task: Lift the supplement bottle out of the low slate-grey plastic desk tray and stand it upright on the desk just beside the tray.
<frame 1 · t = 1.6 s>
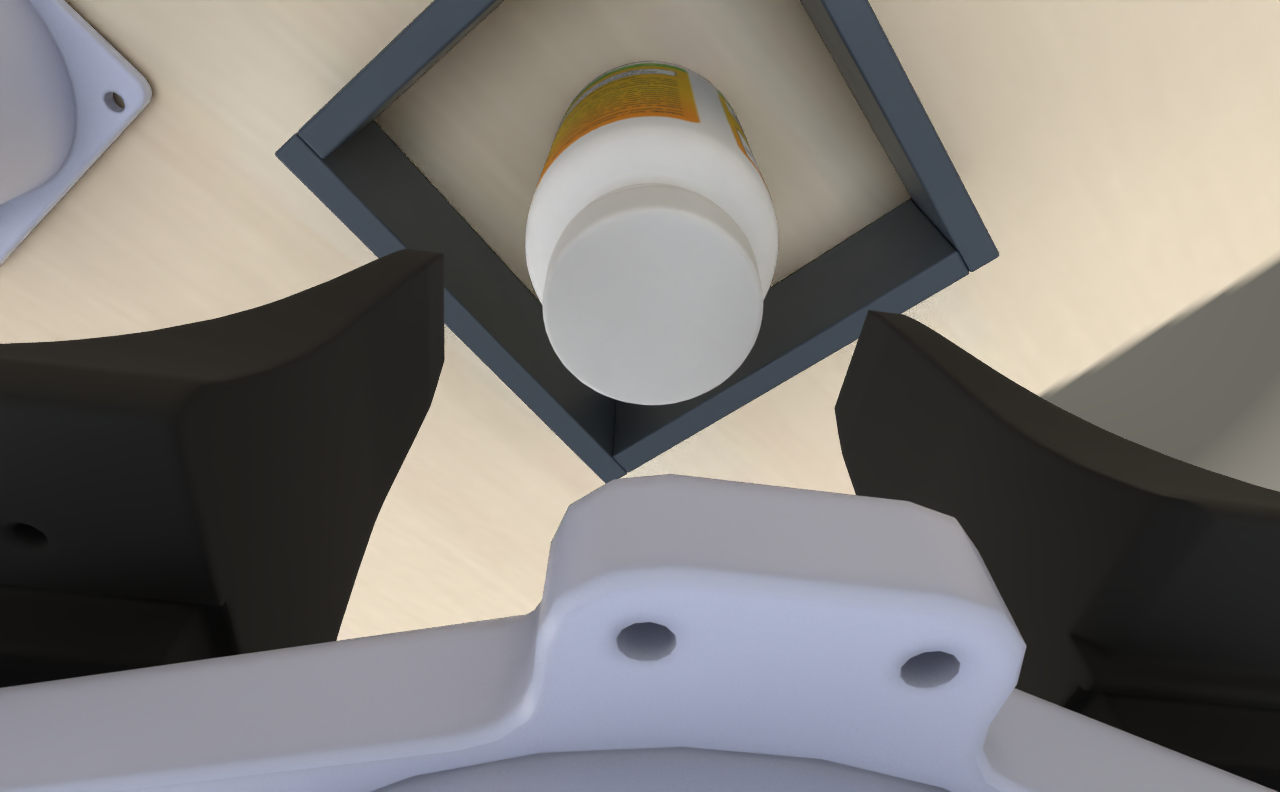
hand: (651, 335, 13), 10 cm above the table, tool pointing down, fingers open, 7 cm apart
tray: (649, 159, 21), on the table
supplement bottle: (649, 157, 22), resting in tray
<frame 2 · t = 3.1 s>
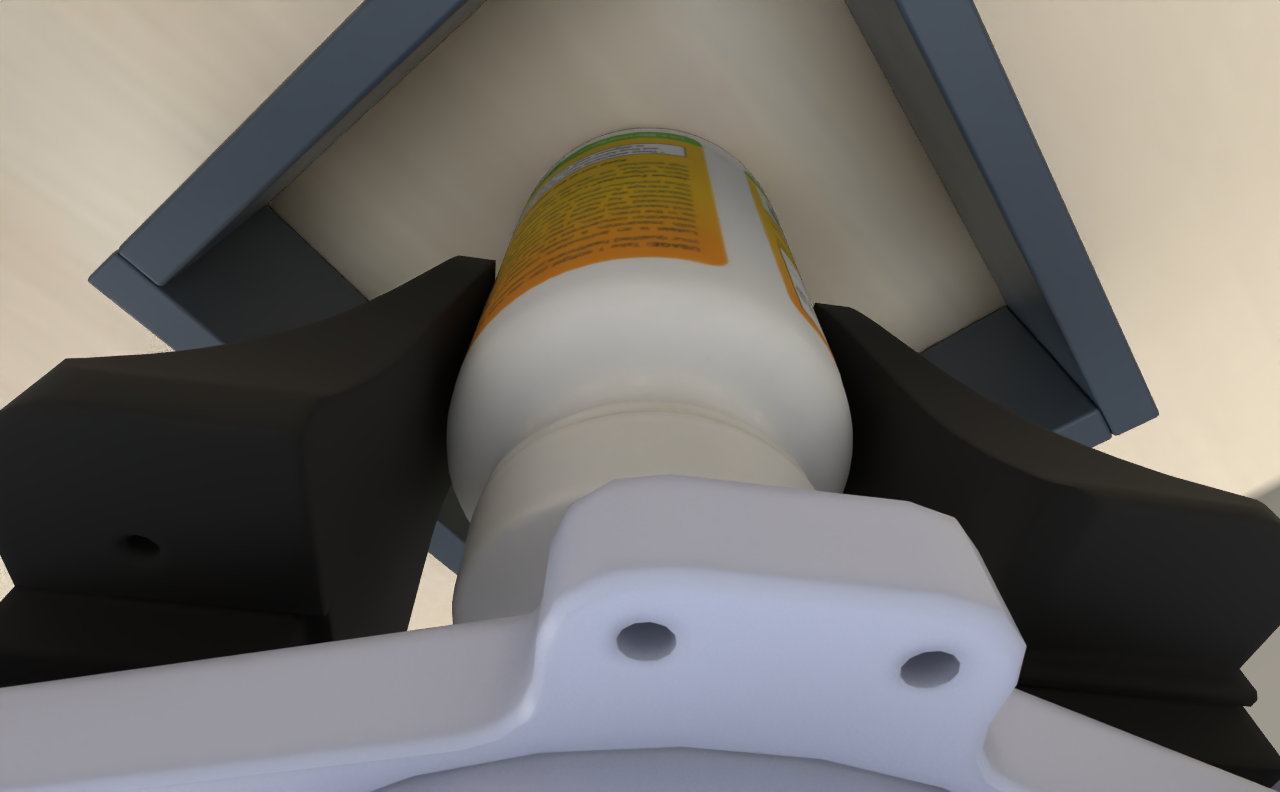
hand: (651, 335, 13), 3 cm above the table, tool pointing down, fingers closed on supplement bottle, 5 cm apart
tray: (650, 255, 16), on the table
supplement bottle: (647, 251, 16), resting in tray, touching gripper
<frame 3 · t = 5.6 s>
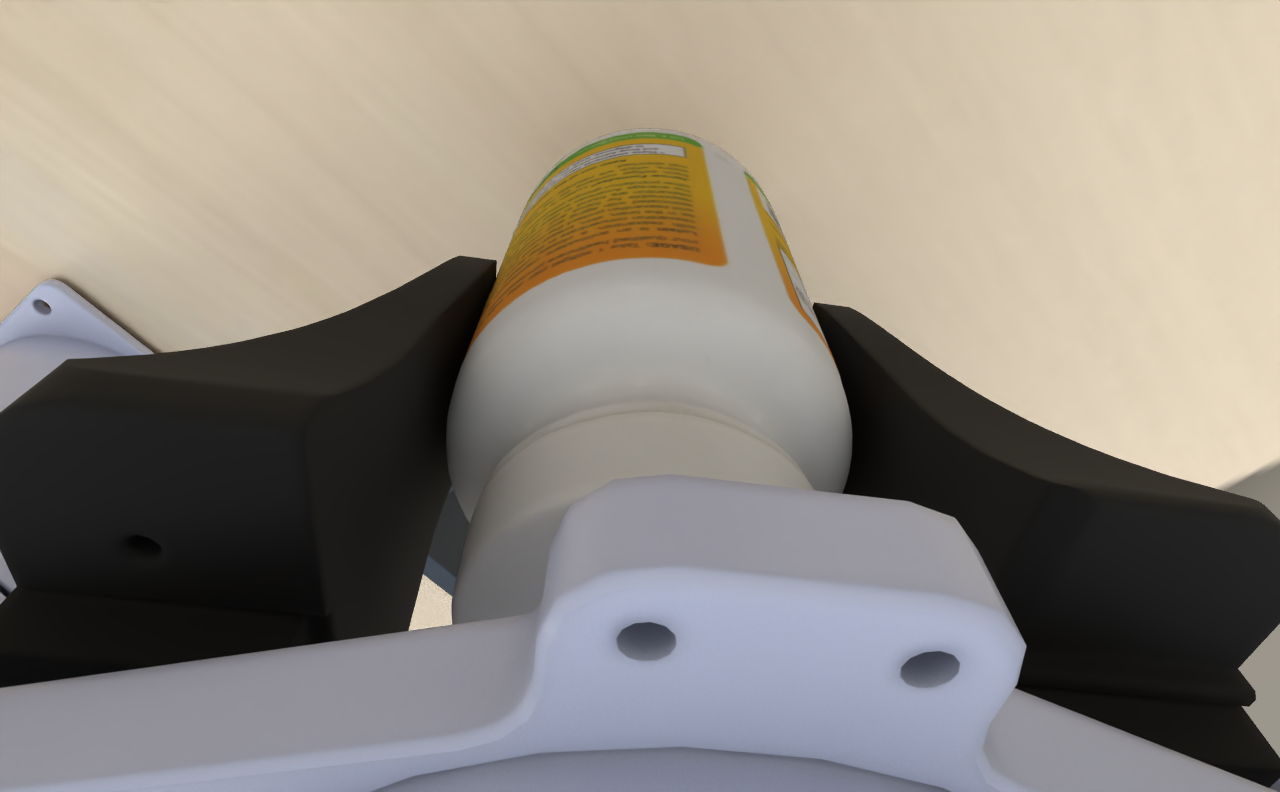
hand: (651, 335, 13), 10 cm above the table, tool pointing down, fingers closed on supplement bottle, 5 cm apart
tray: (637, 476, 28), on the table
supplement bottle: (647, 252, 16), point 7 cm above the table, touching gripper
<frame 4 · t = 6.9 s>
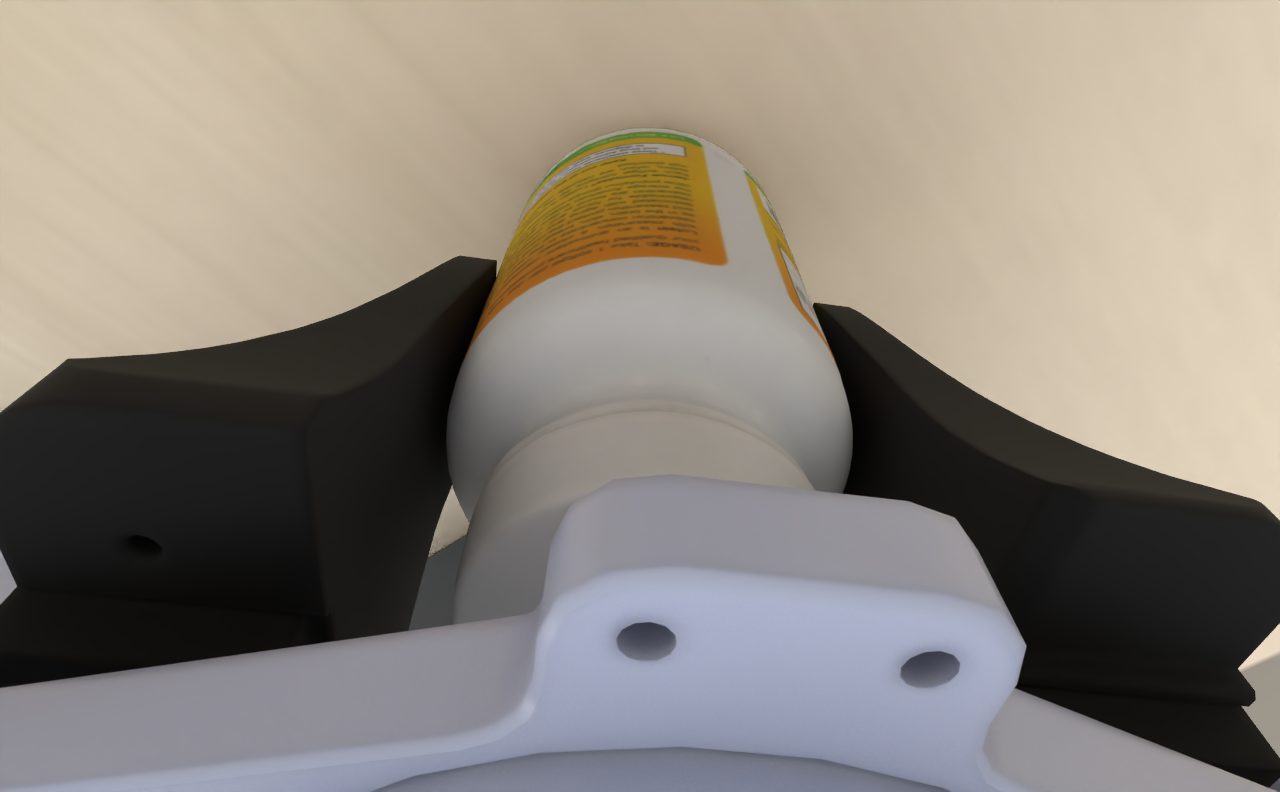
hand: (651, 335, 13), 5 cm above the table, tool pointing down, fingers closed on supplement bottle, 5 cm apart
tray: (632, 630, 24), on the table
supplement bottle: (647, 251, 16), point 1 cm above the table, touching gripper
when the fingers open (3 cm above the table, at t = 8.0 s): supplement bottle stays where it is, on the table.
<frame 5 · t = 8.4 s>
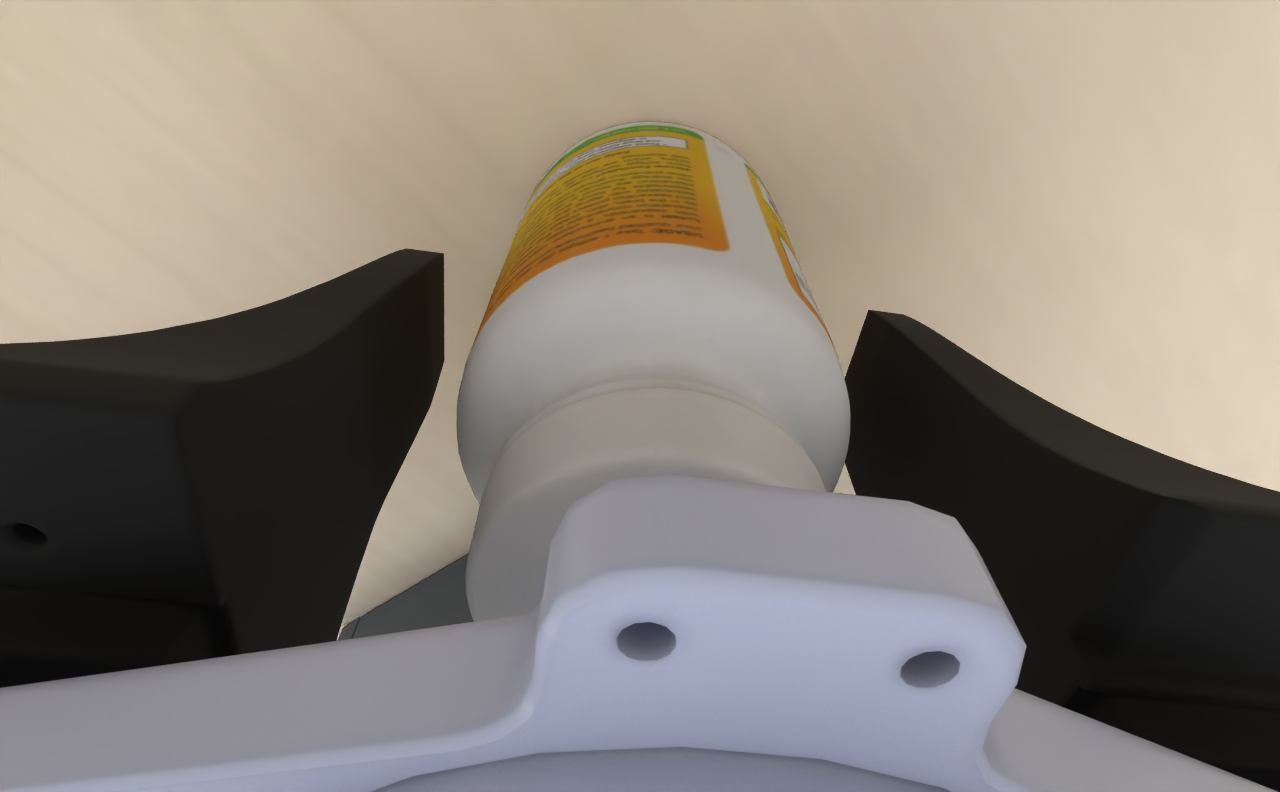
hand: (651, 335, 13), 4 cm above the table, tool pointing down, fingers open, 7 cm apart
tray: (632, 655, 23), on the table
supplement bottle: (649, 243, 16), on the table
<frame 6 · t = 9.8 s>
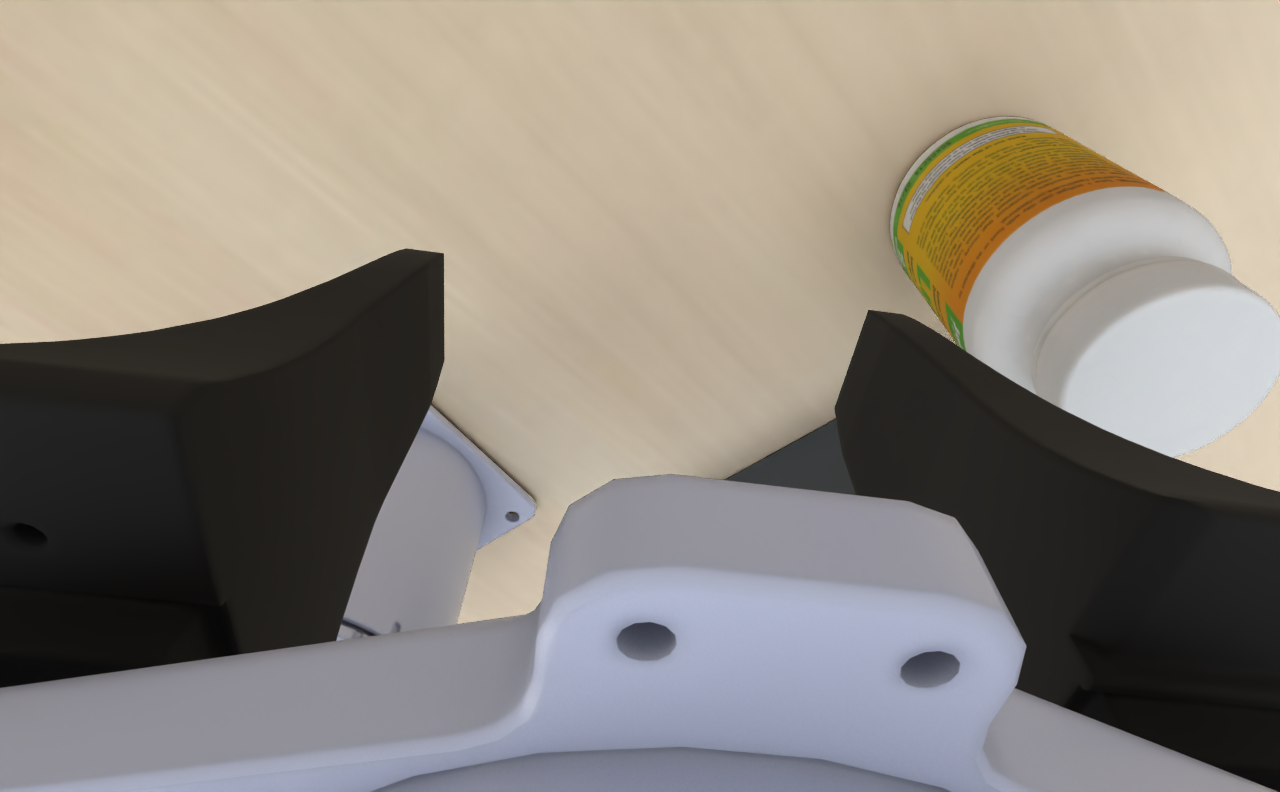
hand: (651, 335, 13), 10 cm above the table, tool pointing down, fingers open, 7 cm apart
tray: (881, 539, 30), on the table
supplement bottle: (976, 205, 22), on the table
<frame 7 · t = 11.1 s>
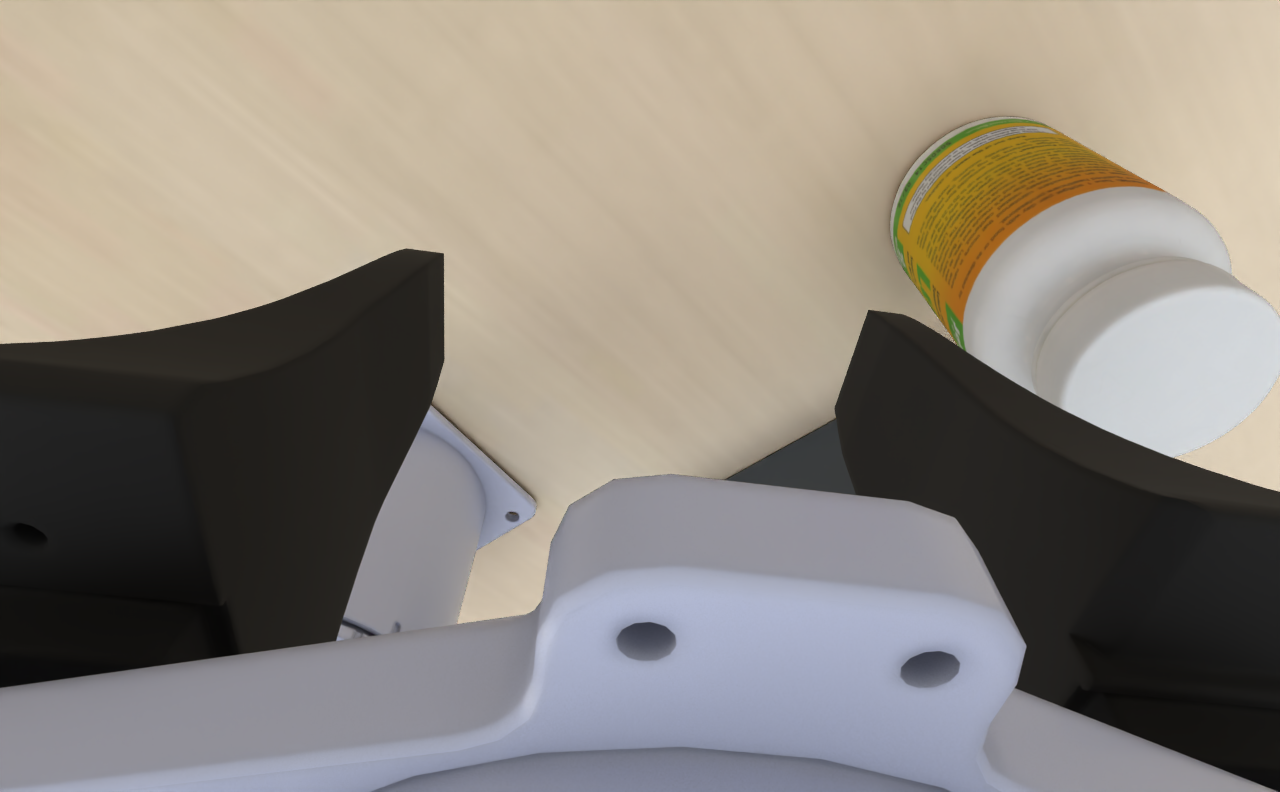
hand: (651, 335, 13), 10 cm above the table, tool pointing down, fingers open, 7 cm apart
tray: (881, 539, 30), on the table
supplement bottle: (976, 205, 22), on the table
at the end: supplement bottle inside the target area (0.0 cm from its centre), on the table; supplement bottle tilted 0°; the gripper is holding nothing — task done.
